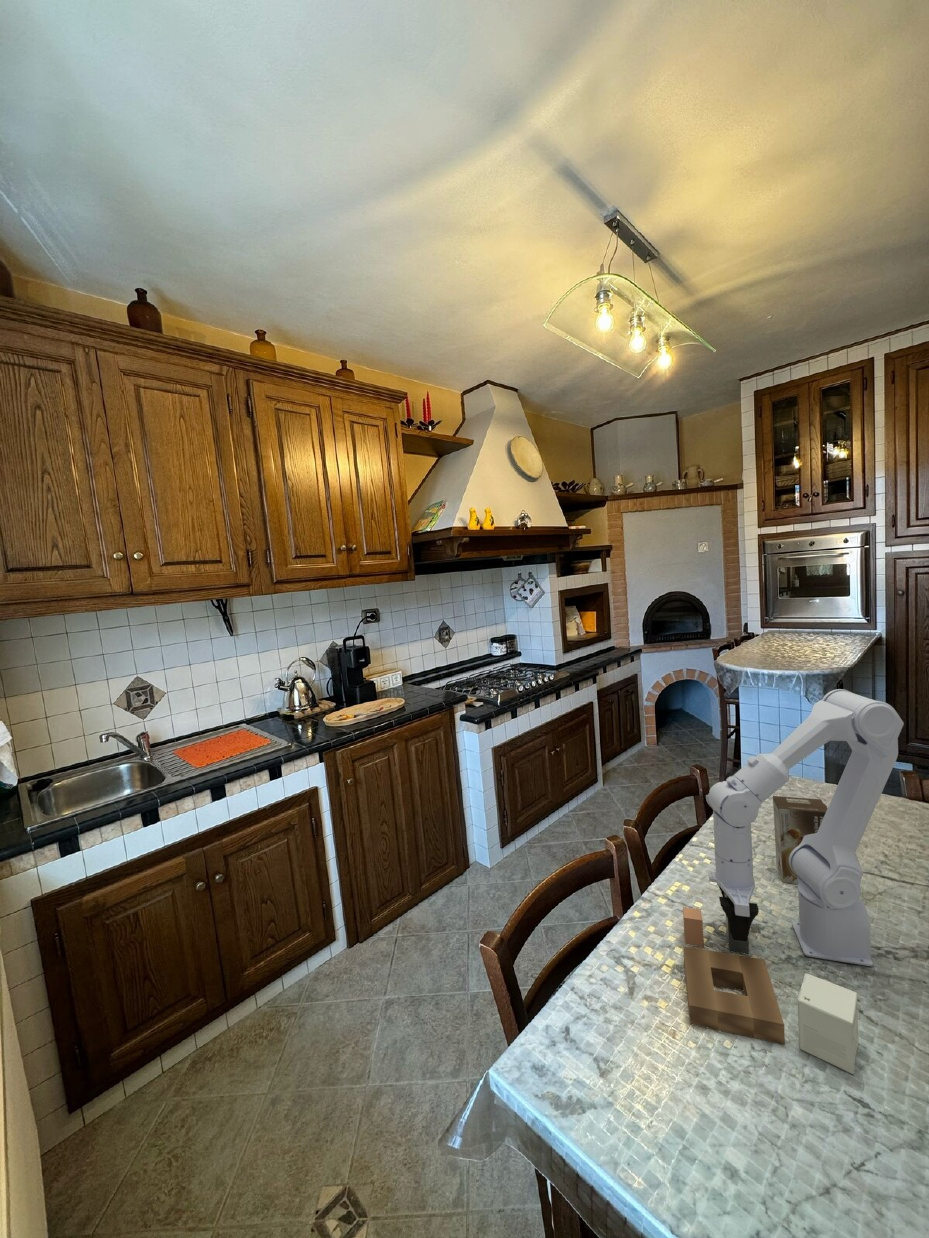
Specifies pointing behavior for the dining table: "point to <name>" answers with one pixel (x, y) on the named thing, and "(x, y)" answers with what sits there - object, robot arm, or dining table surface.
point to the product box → (828, 1022)
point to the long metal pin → (735, 944)
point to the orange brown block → (693, 926)
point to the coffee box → (794, 828)
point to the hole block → (732, 994)
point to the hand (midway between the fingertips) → (736, 927)
